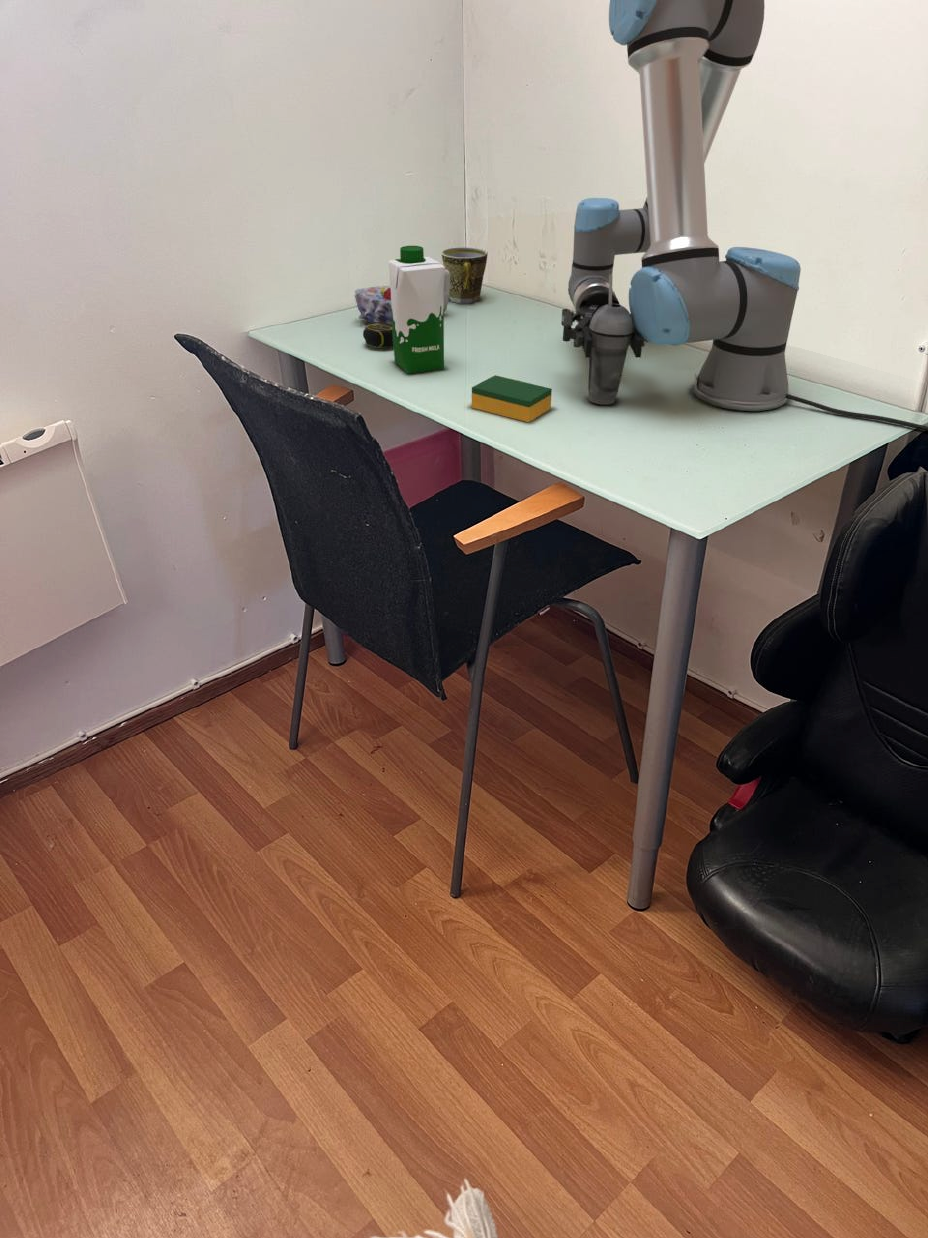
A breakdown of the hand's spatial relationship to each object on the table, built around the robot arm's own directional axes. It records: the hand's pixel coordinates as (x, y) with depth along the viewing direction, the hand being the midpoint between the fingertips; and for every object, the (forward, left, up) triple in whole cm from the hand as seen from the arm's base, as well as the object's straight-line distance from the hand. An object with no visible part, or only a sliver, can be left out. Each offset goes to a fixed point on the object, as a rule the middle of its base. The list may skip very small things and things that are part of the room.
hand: (613, 348), depth 144 cm
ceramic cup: (+48, -48, -10) cm, 69 cm away
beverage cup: (+2, -4, -10) cm, 11 cm away
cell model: (+54, -30, -10) cm, 63 cm away
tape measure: (+50, -14, -10) cm, 53 cm away
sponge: (+15, +6, -10) cm, 19 cm away
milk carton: (+38, -6, -10) cm, 40 cm away
